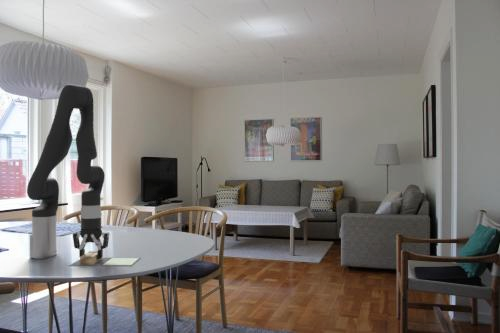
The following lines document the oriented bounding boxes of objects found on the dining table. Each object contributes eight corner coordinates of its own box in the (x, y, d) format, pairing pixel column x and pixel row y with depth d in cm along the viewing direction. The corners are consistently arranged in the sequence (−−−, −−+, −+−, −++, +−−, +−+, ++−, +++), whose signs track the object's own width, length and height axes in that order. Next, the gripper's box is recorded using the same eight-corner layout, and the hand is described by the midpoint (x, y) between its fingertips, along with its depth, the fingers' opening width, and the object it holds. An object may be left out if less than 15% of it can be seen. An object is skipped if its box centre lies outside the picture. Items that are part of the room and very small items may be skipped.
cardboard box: (80, 264, 160) (80, 256, 160) (89, 258, 169) (89, 251, 169) (93, 264, 160) (93, 256, 160) (101, 258, 169) (101, 251, 169)
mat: (68, 267, 157) (68, 265, 157) (83, 258, 171) (83, 256, 171) (131, 267, 157) (131, 265, 157) (141, 258, 171) (141, 257, 171)
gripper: (68, 217, 160) (68, 261, 161) (105, 217, 160) (106, 261, 161) (76, 215, 168) (77, 256, 168) (112, 215, 168) (112, 256, 168)
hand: (91, 258), depth 164 cm, fingers open, 6 cm apart
